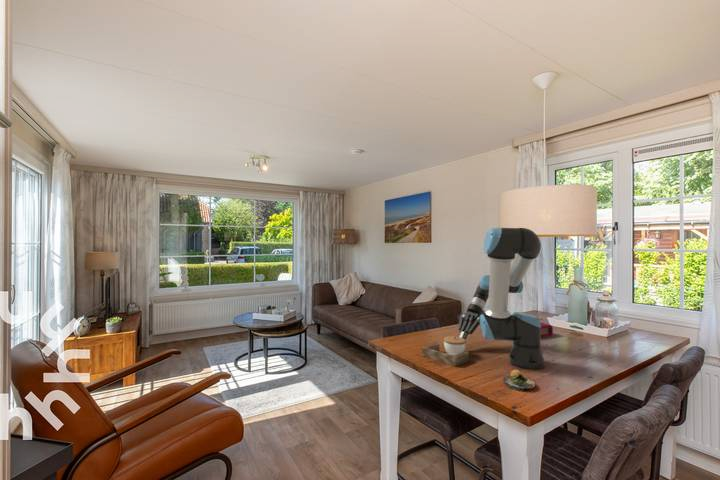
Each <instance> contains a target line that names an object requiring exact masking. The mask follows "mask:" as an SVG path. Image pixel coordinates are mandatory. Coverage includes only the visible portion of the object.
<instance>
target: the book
mask: <svg viewBox="0 0 720 480" xmlns="http://www.w3.org/2000/svg"><path fill="white" fill-rule="evenodd" d="M540 325H541V338H546V337H551V336H553V333H554V327H553V325H551V324H547V323H543V322H540Z"/></svg>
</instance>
